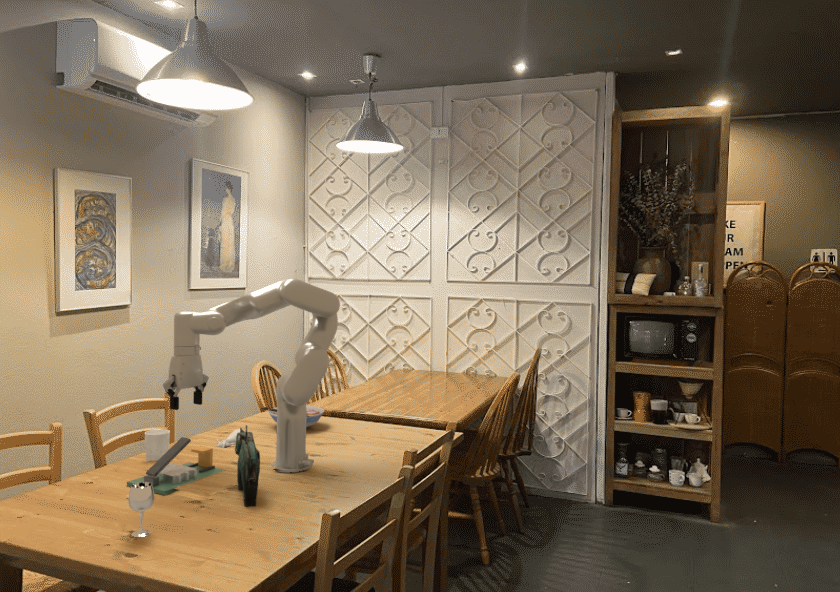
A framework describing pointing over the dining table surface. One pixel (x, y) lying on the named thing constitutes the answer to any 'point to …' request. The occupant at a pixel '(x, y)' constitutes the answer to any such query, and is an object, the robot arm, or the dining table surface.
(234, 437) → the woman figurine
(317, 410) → the ramen bowl
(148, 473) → the dark grey flat bar
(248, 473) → the dark green sculpted piece
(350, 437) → the dining table surface
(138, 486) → the wineglass
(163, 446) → the white cup
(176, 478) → the heat sink
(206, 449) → the catch
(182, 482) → the circuit board
